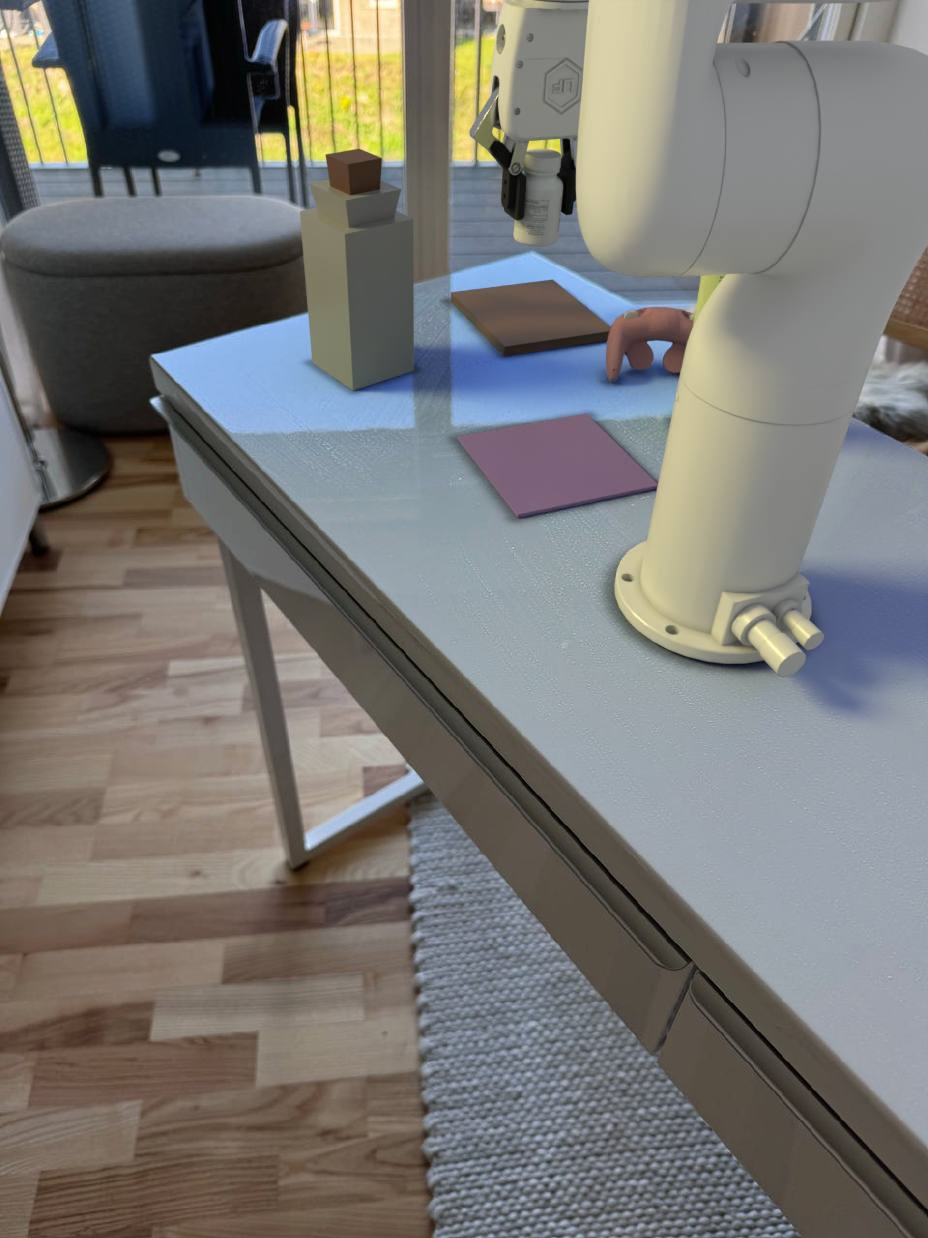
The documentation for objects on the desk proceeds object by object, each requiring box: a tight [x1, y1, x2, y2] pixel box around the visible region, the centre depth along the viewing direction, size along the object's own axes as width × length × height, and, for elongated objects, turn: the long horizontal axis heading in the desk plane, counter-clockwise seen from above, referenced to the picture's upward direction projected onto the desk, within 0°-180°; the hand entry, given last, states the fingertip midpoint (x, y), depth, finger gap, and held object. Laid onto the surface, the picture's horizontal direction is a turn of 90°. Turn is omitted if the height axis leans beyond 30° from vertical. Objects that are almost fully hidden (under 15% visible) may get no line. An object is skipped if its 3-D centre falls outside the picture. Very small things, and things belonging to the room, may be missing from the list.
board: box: [450, 279, 612, 357], centre depth 94 cm, size 14×12×1 cm
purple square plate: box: [456, 413, 658, 519], centre depth 73 cm, size 12×12×1 cm
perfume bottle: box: [299, 148, 415, 392], centre depth 79 cm, size 7×7×18 cm
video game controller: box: [605, 306, 695, 383], centre depth 84 cm, size 10×5×7 cm, turn 84°
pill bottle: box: [513, 148, 563, 248], centre depth 87 cm, size 4×4×8 cm
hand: (538, 210), depth 87 cm, fingers closed on pill bottle, 4 cm apart
